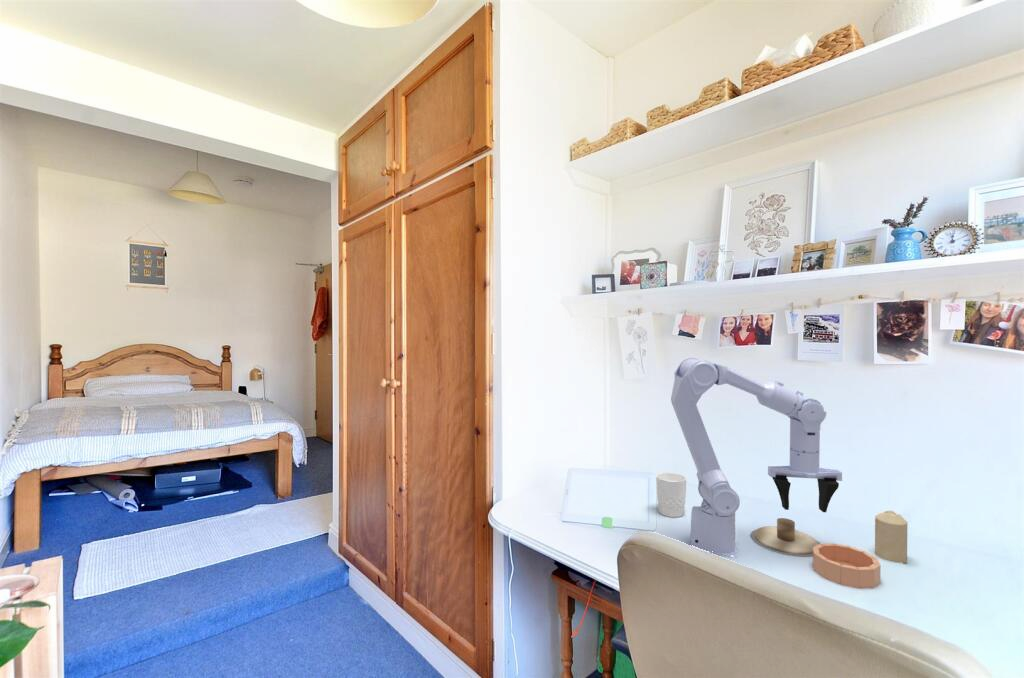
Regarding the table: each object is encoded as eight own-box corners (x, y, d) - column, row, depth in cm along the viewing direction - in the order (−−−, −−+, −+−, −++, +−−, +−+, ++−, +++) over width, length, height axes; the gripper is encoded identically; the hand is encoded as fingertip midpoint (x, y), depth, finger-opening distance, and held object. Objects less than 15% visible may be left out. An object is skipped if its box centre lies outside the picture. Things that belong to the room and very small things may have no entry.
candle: (875, 549, 107) (875, 506, 106) (906, 557, 103) (907, 512, 103) (874, 559, 102) (874, 513, 102) (907, 567, 99) (907, 520, 99)
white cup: (689, 519, 124) (689, 482, 124) (658, 517, 126) (658, 480, 125) (683, 508, 132) (683, 472, 132) (654, 506, 134) (654, 471, 133)
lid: (754, 547, 108) (754, 526, 107) (754, 525, 119) (754, 507, 119) (822, 559, 101) (822, 537, 101) (815, 535, 113) (815, 516, 113)
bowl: (816, 581, 94) (816, 561, 93) (810, 557, 103) (810, 539, 103) (885, 595, 88) (885, 574, 88) (872, 568, 98) (872, 550, 98)
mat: (749, 549, 107) (749, 548, 107) (750, 525, 120) (750, 523, 120) (828, 564, 100) (828, 562, 100) (819, 536, 113) (819, 535, 113)
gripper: (775, 452, 103) (775, 513, 104) (849, 456, 100) (848, 518, 101) (765, 445, 110) (764, 502, 111) (833, 448, 107) (833, 506, 108)
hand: (803, 509), depth 106 cm, fingers open, 7 cm apart
